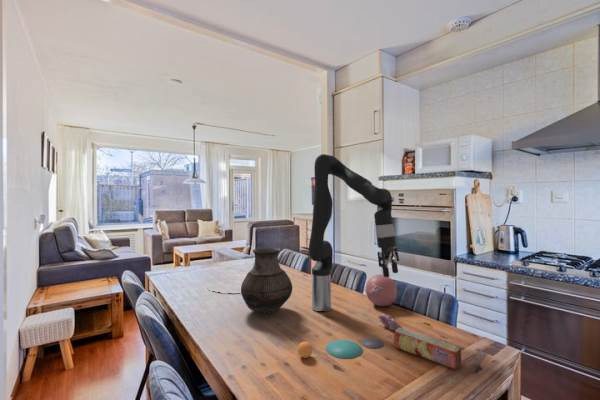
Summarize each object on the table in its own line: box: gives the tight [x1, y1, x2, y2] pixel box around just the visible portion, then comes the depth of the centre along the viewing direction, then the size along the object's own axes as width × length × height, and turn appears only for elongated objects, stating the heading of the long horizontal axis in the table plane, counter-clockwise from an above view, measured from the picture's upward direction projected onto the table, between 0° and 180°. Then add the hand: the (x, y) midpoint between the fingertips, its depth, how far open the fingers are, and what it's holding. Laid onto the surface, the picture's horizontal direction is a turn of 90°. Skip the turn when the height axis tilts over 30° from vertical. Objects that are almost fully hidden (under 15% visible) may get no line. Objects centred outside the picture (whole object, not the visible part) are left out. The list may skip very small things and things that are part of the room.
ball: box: [297, 341, 313, 359], centre depth 102 cm, size 5×5×5 cm
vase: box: [240, 247, 293, 314], centre depth 143 cm, size 25×25×30 cm
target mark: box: [325, 339, 363, 360], centre depth 107 cm, size 13×13×1 cm
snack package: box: [393, 327, 462, 370], centre depth 102 cm, size 21×7×7 cm, turn 45°
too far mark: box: [361, 337, 385, 349], centre depth 111 cm, size 8×8×1 cm
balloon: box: [364, 274, 398, 307], centre depth 149 cm, size 15×20×15 cm
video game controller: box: [378, 313, 403, 332], centre depth 123 cm, size 10×5×7 cm, turn 21°
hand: (391, 274), depth 123 cm, fingers open, 8 cm apart
